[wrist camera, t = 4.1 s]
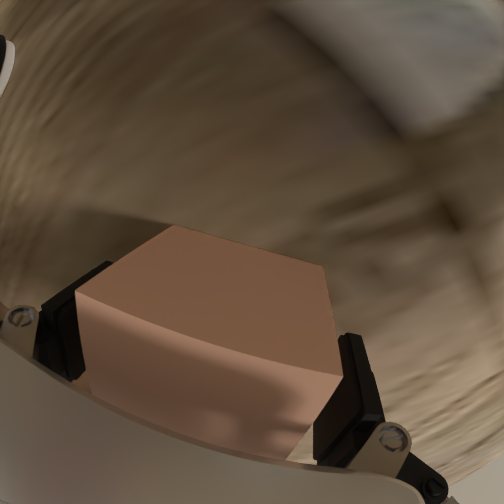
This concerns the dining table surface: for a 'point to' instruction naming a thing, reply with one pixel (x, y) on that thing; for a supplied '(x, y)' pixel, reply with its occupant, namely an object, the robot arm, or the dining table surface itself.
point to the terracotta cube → (212, 340)
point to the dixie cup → (6, 61)
